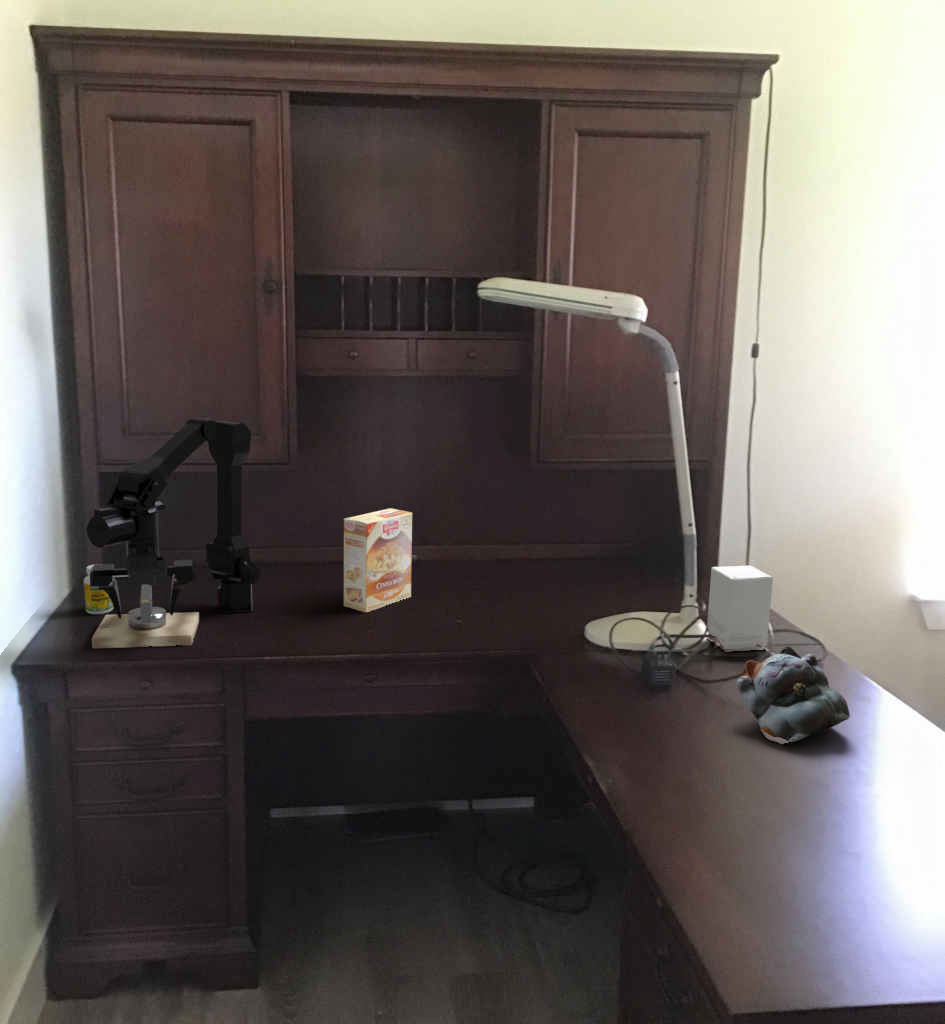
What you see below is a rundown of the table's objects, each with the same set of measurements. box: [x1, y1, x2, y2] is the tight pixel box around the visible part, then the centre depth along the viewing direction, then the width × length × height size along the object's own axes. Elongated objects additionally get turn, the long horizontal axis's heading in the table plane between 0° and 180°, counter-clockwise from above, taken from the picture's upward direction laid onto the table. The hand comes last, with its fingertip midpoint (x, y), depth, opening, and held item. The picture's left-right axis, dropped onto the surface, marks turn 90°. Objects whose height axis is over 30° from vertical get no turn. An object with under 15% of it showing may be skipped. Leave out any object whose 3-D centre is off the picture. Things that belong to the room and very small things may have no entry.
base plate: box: [91, 611, 200, 649], centre depth 197 cm, size 18×14×2 cm
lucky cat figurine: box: [735, 646, 851, 744], centre depth 160 cm, size 15×12×14 cm
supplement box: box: [706, 565, 774, 649], centre depth 198 cm, size 9×9×15 cm
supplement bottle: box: [83, 563, 114, 615], centre depth 210 cm, size 5×5×10 cm
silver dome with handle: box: [127, 584, 167, 630], centre depth 196 cm, size 13×7×7 cm, turn 16°
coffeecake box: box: [343, 507, 413, 613], centre depth 219 cm, size 15×7×20 cm, turn 143°
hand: (146, 616), depth 191 cm, fingers open, 9 cm apart
